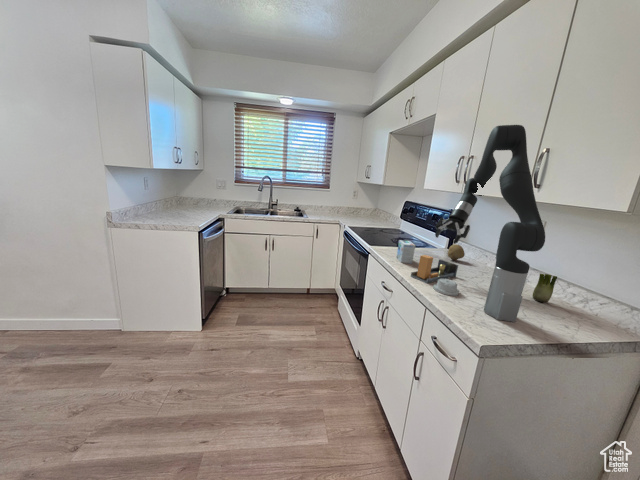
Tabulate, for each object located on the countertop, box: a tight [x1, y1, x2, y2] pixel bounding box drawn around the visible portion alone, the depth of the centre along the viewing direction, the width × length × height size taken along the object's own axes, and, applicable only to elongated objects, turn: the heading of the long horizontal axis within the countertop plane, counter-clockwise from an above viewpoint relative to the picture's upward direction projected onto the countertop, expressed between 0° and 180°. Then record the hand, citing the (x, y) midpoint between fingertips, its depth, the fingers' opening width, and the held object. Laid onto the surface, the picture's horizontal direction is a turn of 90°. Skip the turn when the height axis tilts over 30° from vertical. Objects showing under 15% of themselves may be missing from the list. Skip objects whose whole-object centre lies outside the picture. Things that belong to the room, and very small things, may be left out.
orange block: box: [417, 254, 439, 279], centre depth 121 cm, size 9×6×10 cm
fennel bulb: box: [532, 273, 558, 304], centre depth 105 cm, size 6×5×12 cm
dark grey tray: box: [410, 266, 455, 284], centre depth 125 cm, size 23×9×2 cm, turn 124°
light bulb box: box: [395, 239, 416, 265], centre depth 147 cm, size 11×7×11 cm, turn 178°
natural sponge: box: [447, 244, 465, 261], centre depth 156 cm, size 9×9×10 cm
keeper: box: [437, 259, 459, 278], centre depth 129 cm, size 6×10×6 cm
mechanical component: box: [433, 278, 460, 296], centre depth 109 cm, size 10×4×10 cm
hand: (445, 239), depth 123 cm, fingers open, 8 cm apart
